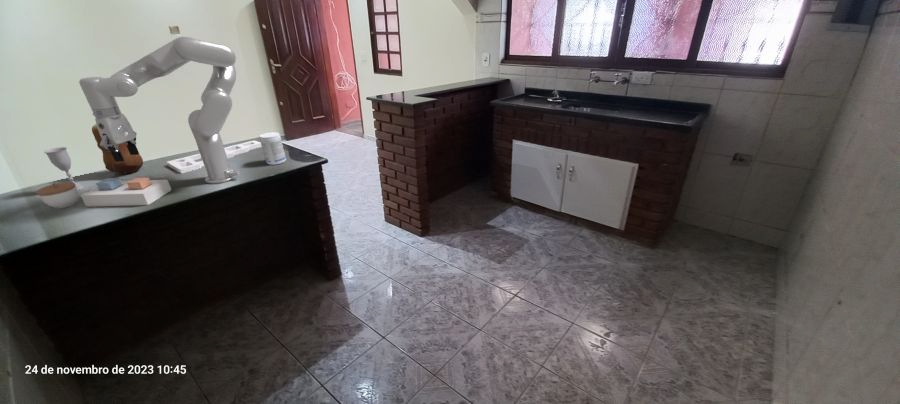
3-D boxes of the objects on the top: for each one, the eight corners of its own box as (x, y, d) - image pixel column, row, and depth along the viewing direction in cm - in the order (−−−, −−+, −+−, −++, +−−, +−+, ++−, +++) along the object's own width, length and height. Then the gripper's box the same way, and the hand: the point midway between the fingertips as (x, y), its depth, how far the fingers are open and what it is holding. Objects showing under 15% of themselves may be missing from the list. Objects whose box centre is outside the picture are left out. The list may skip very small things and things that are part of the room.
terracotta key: (151, 184, 147) (148, 177, 145) (142, 189, 142) (139, 182, 141) (139, 184, 147) (136, 177, 145) (129, 189, 142) (126, 182, 141)
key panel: (171, 190, 153) (167, 179, 151) (148, 204, 141) (143, 193, 138) (115, 191, 152) (110, 180, 150) (86, 206, 140) (80, 195, 138)
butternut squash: (137, 166, 180) (115, 117, 168) (152, 170, 175) (131, 120, 163) (104, 175, 169) (78, 124, 157) (119, 180, 164) (94, 127, 152)
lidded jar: (46, 205, 141) (33, 184, 137) (82, 196, 148) (71, 176, 144) (47, 213, 135) (34, 191, 130) (85, 204, 142) (73, 183, 138)
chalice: (90, 186, 157) (70, 148, 149) (72, 193, 151) (50, 153, 143) (80, 184, 159) (60, 146, 151) (61, 190, 154) (39, 151, 145)
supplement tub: (287, 158, 188) (281, 131, 182) (284, 164, 180) (277, 136, 173) (268, 159, 187) (261, 132, 180) (264, 166, 178) (256, 137, 172)
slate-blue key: (122, 184, 146) (118, 178, 145) (112, 189, 142) (108, 183, 141) (109, 185, 146) (106, 178, 145) (99, 190, 142) (96, 183, 140)
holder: (255, 144, 212) (254, 140, 211) (270, 150, 202) (269, 145, 201) (168, 166, 180) (166, 161, 179) (181, 174, 171) (179, 169, 169)
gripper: (97, 117, 123) (119, 165, 131) (135, 107, 138) (153, 150, 147) (75, 118, 123) (99, 166, 131) (115, 107, 138) (134, 150, 146)
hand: (127, 157), depth 139 cm, fingers open, 6 cm apart
